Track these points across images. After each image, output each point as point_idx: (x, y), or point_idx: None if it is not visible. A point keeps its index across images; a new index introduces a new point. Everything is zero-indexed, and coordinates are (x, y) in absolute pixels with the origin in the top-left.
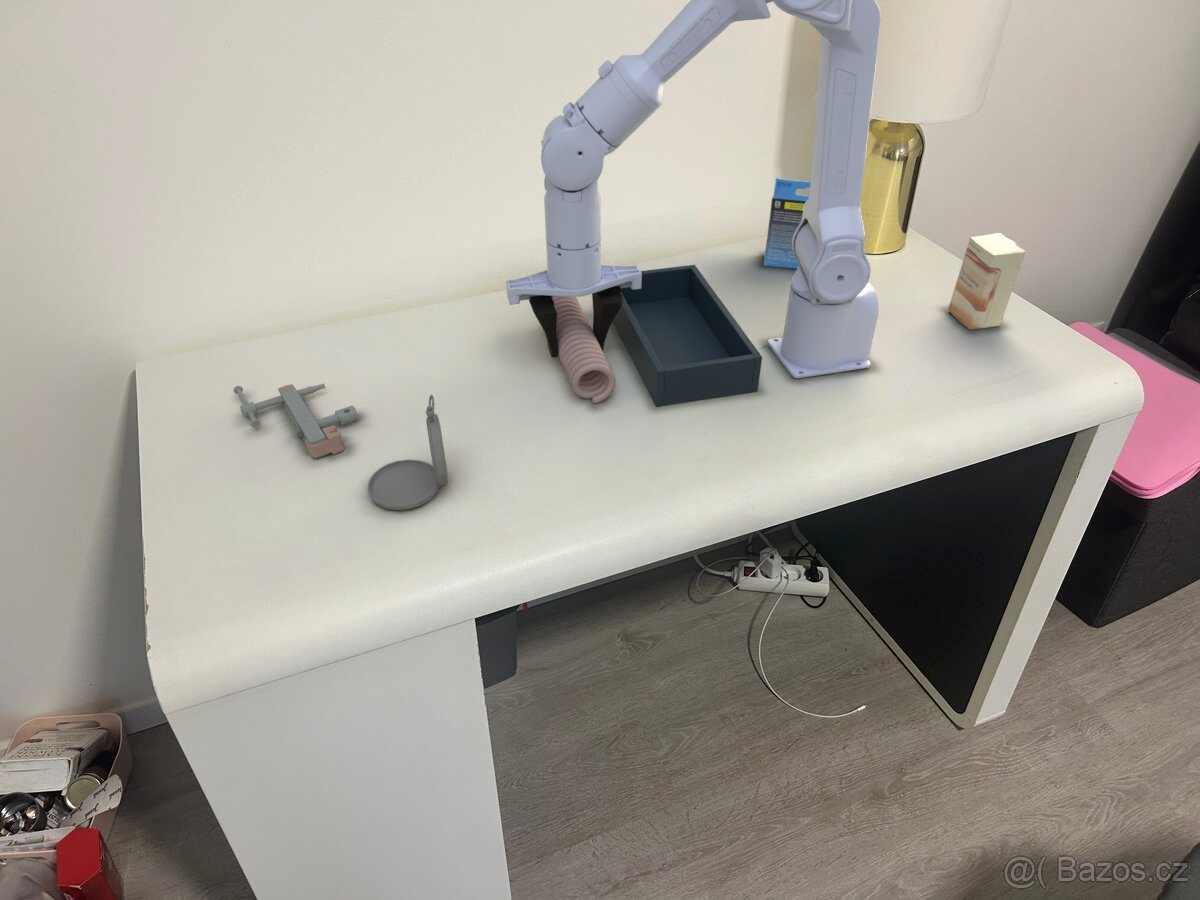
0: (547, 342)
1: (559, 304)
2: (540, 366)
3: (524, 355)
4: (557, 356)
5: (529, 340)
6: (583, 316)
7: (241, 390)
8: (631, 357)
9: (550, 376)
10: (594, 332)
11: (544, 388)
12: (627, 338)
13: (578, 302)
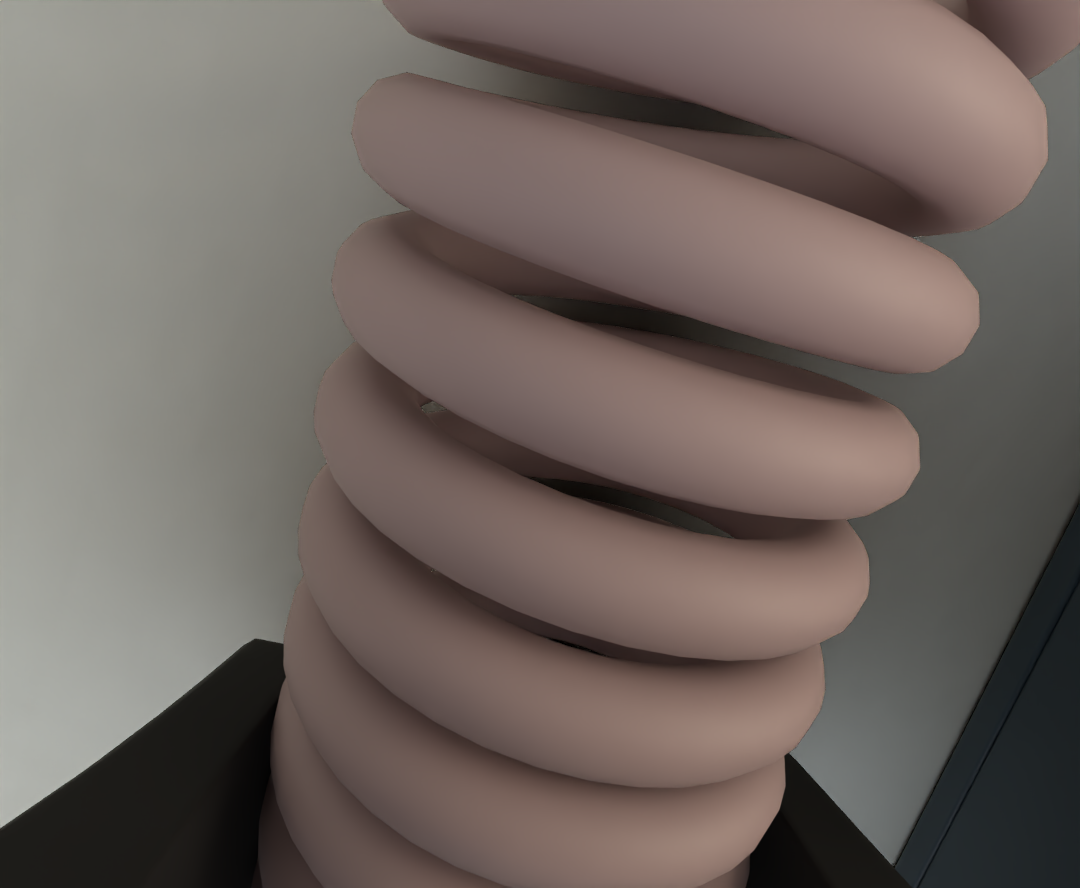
0: (212, 673)
1: (561, 392)
2: (180, 629)
3: (78, 405)
4: None
5: (205, 148)
6: (787, 752)
7: None
8: (915, 847)
9: None
10: (752, 878)
11: None
12: (1038, 829)
13: (1042, 168)
